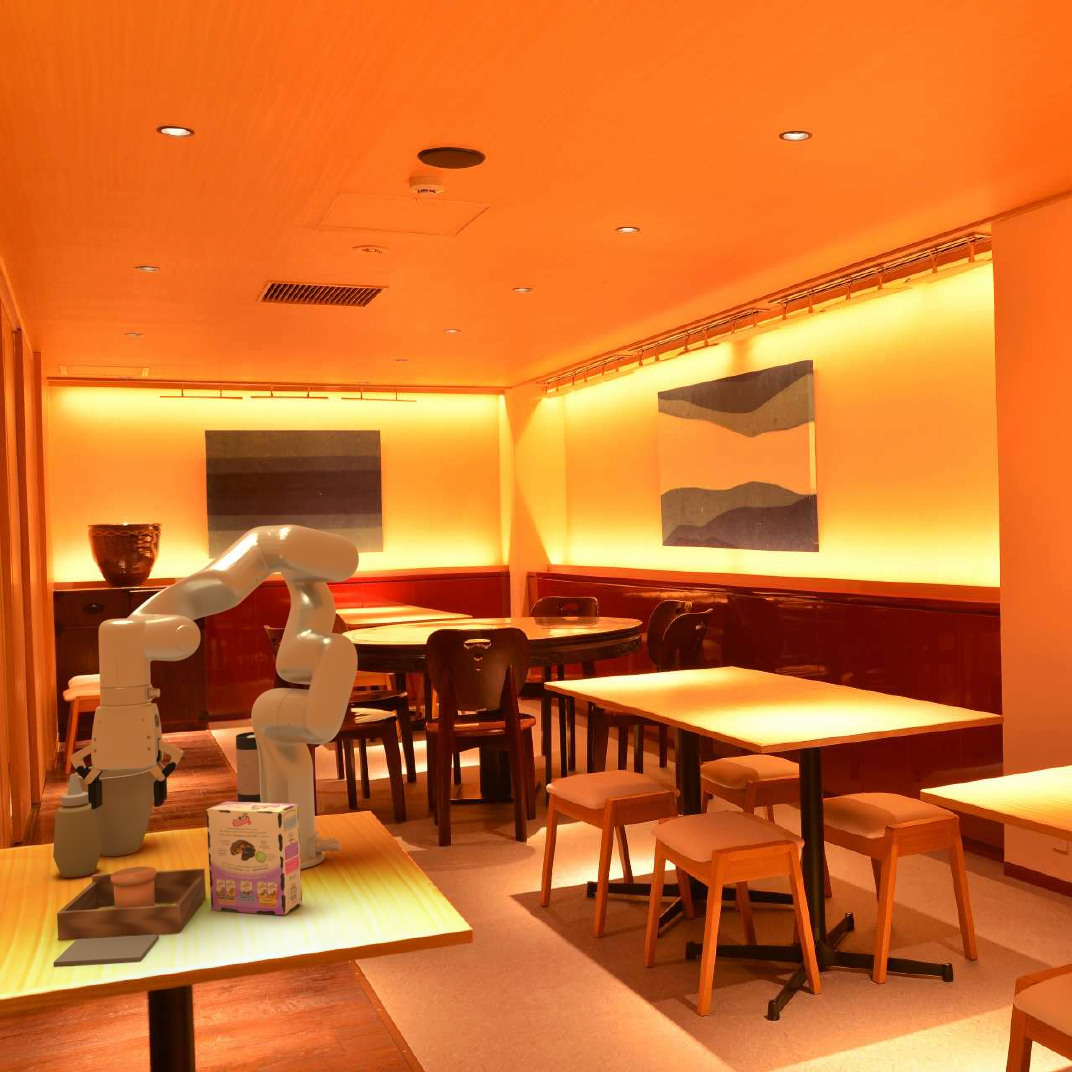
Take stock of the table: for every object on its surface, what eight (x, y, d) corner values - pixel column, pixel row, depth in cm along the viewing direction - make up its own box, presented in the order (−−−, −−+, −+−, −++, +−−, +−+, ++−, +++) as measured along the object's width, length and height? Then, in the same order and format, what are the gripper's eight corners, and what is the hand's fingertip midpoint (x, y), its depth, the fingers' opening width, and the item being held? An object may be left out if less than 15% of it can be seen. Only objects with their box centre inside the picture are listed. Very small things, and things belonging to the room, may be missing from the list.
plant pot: (78, 847, 221) (75, 766, 221) (158, 837, 226) (154, 758, 227) (78, 867, 207) (74, 780, 207) (163, 855, 213) (159, 771, 213)
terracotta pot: (163, 910, 180) (161, 865, 180) (151, 924, 173) (149, 878, 173) (120, 912, 180) (118, 867, 180) (106, 927, 173) (104, 880, 173)
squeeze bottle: (110, 866, 206) (106, 769, 206) (88, 880, 198) (84, 778, 198) (68, 867, 207) (64, 770, 207) (44, 881, 199) (40, 779, 199)
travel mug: (242, 829, 229) (238, 732, 229) (280, 827, 230) (276, 730, 230) (236, 839, 222) (231, 738, 222) (275, 837, 222) (271, 736, 222)
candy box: (304, 904, 180) (299, 802, 180) (284, 917, 174) (279, 811, 174) (230, 899, 184) (226, 799, 184) (209, 910, 179) (204, 807, 179)
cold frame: (205, 898, 185) (204, 868, 185) (179, 932, 169) (178, 899, 169) (95, 905, 184) (93, 874, 184) (58, 939, 168) (56, 906, 168)
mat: (158, 938, 167) (158, 934, 167) (140, 961, 158) (140, 957, 158) (76, 943, 166) (76, 939, 166) (53, 966, 157) (53, 962, 157)
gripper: (187, 692, 181) (190, 799, 180) (78, 696, 180) (80, 803, 179) (174, 698, 173) (177, 809, 173) (60, 702, 172) (63, 814, 172)
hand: (128, 806), depth 176 cm, fingers open, 9 cm apart
